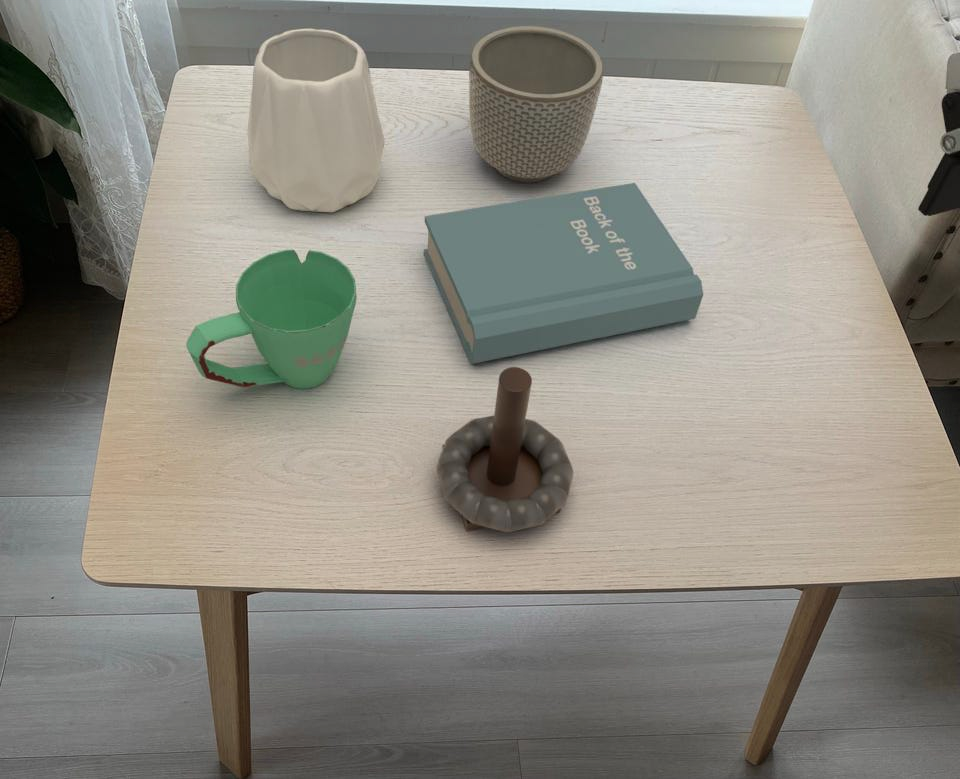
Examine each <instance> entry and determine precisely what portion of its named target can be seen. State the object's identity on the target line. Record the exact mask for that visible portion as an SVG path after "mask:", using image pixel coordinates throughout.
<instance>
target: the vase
mask: <svg viewBox="0 0 960 779" xmlns="http://www.w3.org/2000/svg"><path fill="white" fill-rule="evenodd" d="M252 71H253V72H252V84H251V94H250V95H251V96H250V101H249V102H250V103H249V112H248V121H247V142H248V143H247V144H248V145H247V146H248V158H249V169H250V172H251V173H252V174H253V176H254V178H255V179H256V180H257V181H258V182H259V184H260V185H261V186H262V187H263V188H264V189H266V191H267V193H268V195H270V196H271V197H272V198H273V199H276V200H278V201H282V203H283V204H284V205H285V206H286V207H287V208H288V209H290V210H293V211H301V212H313V213H314V212H316V213H336V212H337V211H340V210H342V209H344V208H345V207H346V208H347V207H348V206H350V205H352V204H355V203H357V201H359V200H361V199H363V198H365V197H367V196H368V195H369V194H371V192H372V191H373V189H374V188H375V186H376V184H377V183H378V180H379V176H380V167H381V160H382V156H383V151H384V147H385V143H386V142H385V137H384V133H383V129H382V124H381V120H380V118H379V117H380V116H379V111H378V107H377V101H376V96H375V90H374V86H373V85H374V84H373V81H372V80H373V79H372V76H371V70H370V65H369V61H368V57H367V55H366V53H365V51H364V49H363V48H362V47H361V46H360V45H359V44H358V43H357V42H356V41H354V40H352V39H350V38H349V37H348V36H347V35H344V34H342V33H340V32H337V31H334V30H330V29H320V28H319V29H315V28H296V29H291V30H290V29H289V30H286V31H284V32H282V33H281V34H276V35H274V36H272V37H271V36H270V38H267V39H266V40H264V42H262V44H261V45H260V47H259V49H258V53H257V54H256V57H255V61H254V65H253V70H252Z"/></svg>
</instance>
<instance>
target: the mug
mask: <svg viewBox="0 0 960 779" xmlns="http://www.w3.org/2000/svg"><path fill="white" fill-rule="evenodd" d="M357 297H358V296H357V285H356V279H355V276H354V275H353V273H352V271H351V270H350V268H349V267H348V266H347V265H345V264H344V263H343V262H342V261H340V260H339V259H338V258H336V257H334V256H332V255H330V254H327V253H325V252H323V251H318V250H311V249H309V250H308V252H307V253H306V256H305V260H304V261H303V262H302V261H301V260H300V258H299V255H298V253H297V252H296V251H295V250H294V249H284V250H280V251H276V252H272V253H269V254H267V255H264V256H262V257H261V258H259V259H257V260H255V261H253V262H252V263H251V264H250V265H249V266H248V267H247V268H246V269H245V270H243V272H242V273H241V275H240V277H239V278H238V281H237V283H236V285H235V304H236V307H237V309H238V312H235V313H231V314H227V315H223V316H219V317H215V318H212V319H209V320H207V321H204V322H202V323H199V324H197V325H195V326H194V327H193V330H192V331H191V333H190V335H189V336H188V338H187V340H186V345H185V346H186V349H187V351H188V353H189V355H190V356H191V359H192V361H193V363H194V366H196V369H197V371H198V373H199V374H200V375H201V377H203V378H205V379H207V380H211V381H215V382H218V383H223V384H226V385H229V386H234V387H238V388H249V387H255V386H256V387H257V386H263V385H269V384H278V383H284V384H285V385H287V386H288V387H291V388H293V389H300V390H309V389H313V388H317V387H319V386H321V385H322V384H324V383H325V382H326V381H328V379H329V378H330V376H331V374H332V373H333V371H334V369H335V368H336V365H337V364H338V361H339V360H340V357H341V354H342V353H343V349H344V347H345V344H346V341H347V338H348V336H349V331H350V327H351V324H352V319H353V315H354V311H355V307H356V303H357ZM248 335H251V337H252V339H253V341H254V343H255V345H256V348H257V350H258V352H259V353H260V355H261V356H262V358H263V359H264V361H265V362H266V363H258V364H251V365H243V366H235V367H230V366H227V365H224V364H221V363H218V362H215V361H213V360H210V359H207V358H206V354H207V352H208V350H209V349H210V348H212V347H213V346H215V345H217V344H220V343H222V342H224V341H227V340H230V339H234V338H240V337H243V336H248Z"/></svg>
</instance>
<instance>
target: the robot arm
mask: <svg viewBox="0 0 960 779" xmlns="http://www.w3.org/2000/svg"><path fill="white" fill-rule="evenodd" d="M944 89H945V90H946V94H945V95H944V96H943V98H942V99H941V110H942V111H941V112H942V117H943V121H944V122H943V124H944V129H945V133H944V134H943V135H942V136H941V138H940V142H939V144H940V148H941V150H942V152H944V154H943V155H942V157H941V159H940V161H939V163H938V165H937V166H936V169H935V171H934V172H933V175H932V176H931V178H930V180H929V182H928V184H927V186H926V187H927V191H926V192H925V194H924V196H923V198H922V200H921V201H920V204H919V206H918V208H917V210H918V212H919V213H921V214H922V215H923V216H925V217H927V216H928V217H932V216H935V215H939V214H942V213H946V212H950V211H953V210H957V209H960V52H956V53H955V52H954V53H952V54H950V55H949V57H948V59H947V64H946V77H945V87H944Z"/></svg>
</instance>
